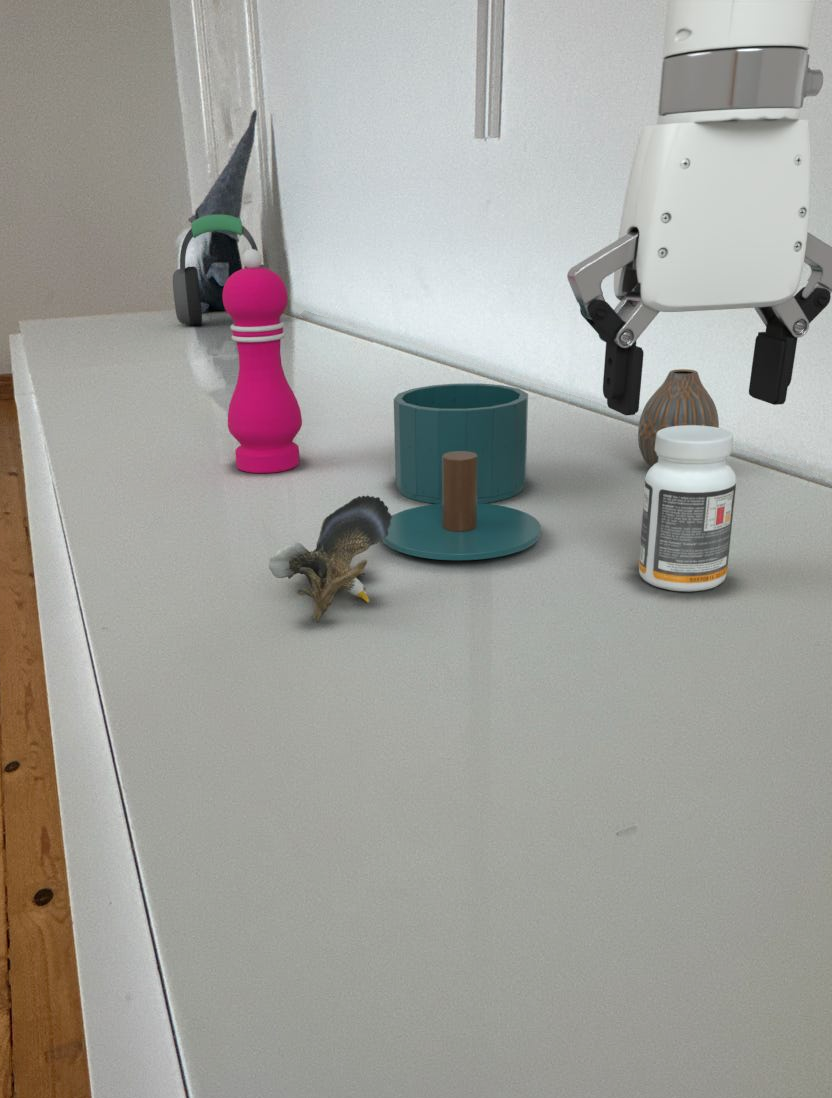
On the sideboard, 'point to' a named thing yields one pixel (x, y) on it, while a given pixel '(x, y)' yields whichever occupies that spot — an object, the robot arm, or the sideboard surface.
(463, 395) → the pot
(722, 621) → the sideboard surface
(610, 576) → the sideboard surface
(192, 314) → the headphones
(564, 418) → the sideboard surface
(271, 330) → the pepper mill
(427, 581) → the sideboard surface
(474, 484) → the lid
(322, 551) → the eagle figurine
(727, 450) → the pill bottle
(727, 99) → the robot arm
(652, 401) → the vase
